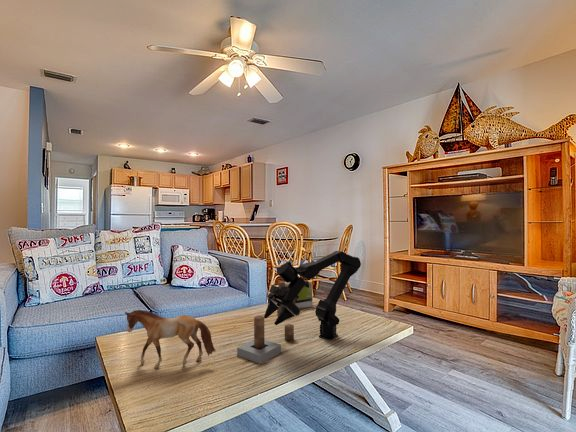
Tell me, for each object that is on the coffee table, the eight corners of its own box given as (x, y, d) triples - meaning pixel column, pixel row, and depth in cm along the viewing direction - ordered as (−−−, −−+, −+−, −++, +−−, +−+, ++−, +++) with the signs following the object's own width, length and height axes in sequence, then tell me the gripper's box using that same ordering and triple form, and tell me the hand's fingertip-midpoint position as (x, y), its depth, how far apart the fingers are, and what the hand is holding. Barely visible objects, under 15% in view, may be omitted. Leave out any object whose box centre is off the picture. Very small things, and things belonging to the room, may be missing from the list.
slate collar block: (281, 352, 119) (281, 344, 119) (260, 364, 110) (260, 355, 110) (258, 344, 126) (258, 337, 126) (237, 355, 117) (237, 347, 117)
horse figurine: (122, 372, 104) (122, 312, 104) (132, 362, 112) (132, 305, 112) (215, 367, 107) (215, 309, 107) (218, 357, 115) (218, 303, 115)
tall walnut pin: (265, 351, 120) (265, 316, 120) (263, 356, 116) (263, 319, 116) (255, 351, 120) (255, 315, 120) (253, 355, 116) (253, 319, 116)
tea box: (304, 302, 189) (304, 279, 190) (312, 307, 180) (312, 282, 180) (282, 306, 183) (282, 281, 183) (289, 310, 174) (289, 284, 174)
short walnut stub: (295, 339, 132) (295, 325, 132) (290, 342, 129) (290, 328, 129) (288, 337, 134) (288, 323, 135) (282, 340, 131) (282, 326, 131)
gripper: (270, 273, 131) (247, 303, 126) (292, 281, 115) (266, 315, 109) (286, 289, 135) (264, 319, 130) (310, 299, 119) (286, 333, 113)
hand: (269, 321), depth 120 cm, fingers open, 9 cm apart
